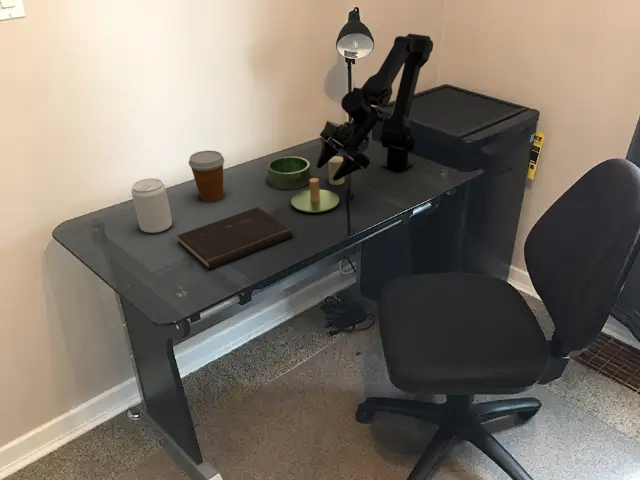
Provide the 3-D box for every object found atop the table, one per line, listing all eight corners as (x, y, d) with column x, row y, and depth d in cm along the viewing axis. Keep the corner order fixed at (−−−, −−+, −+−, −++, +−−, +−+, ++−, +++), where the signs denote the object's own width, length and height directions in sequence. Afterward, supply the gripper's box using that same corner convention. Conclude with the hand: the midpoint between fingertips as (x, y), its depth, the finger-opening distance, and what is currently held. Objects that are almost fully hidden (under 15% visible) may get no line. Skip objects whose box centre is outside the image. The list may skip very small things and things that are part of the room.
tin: (290, 168, 187) (289, 153, 184) (319, 179, 180) (318, 163, 178) (260, 181, 179) (258, 165, 177) (288, 193, 173) (287, 177, 170)
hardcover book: (178, 243, 150) (177, 235, 149) (258, 214, 163) (257, 206, 161) (210, 270, 140) (208, 262, 139) (292, 238, 152) (292, 230, 151)
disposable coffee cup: (187, 200, 169) (180, 160, 163) (207, 186, 177) (201, 147, 170) (216, 206, 166) (210, 166, 160) (235, 192, 174) (230, 152, 167)
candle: (336, 176, 182) (335, 154, 178) (347, 181, 179) (347, 159, 176) (325, 181, 179) (324, 159, 175) (337, 186, 177) (336, 164, 173)
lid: (315, 188, 175) (313, 165, 172) (349, 202, 168) (348, 178, 164) (281, 204, 167) (279, 181, 163) (315, 220, 160) (314, 195, 156)
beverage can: (178, 222, 159) (170, 180, 153) (160, 236, 153) (151, 193, 146) (152, 217, 161) (143, 175, 155) (133, 231, 155) (123, 189, 148)
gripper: (324, 99, 164) (290, 146, 166) (359, 120, 151) (322, 171, 153) (350, 122, 172) (317, 167, 174) (385, 144, 159) (349, 192, 160)
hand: (325, 173), depth 165 cm, fingers open, 9 cm apart
